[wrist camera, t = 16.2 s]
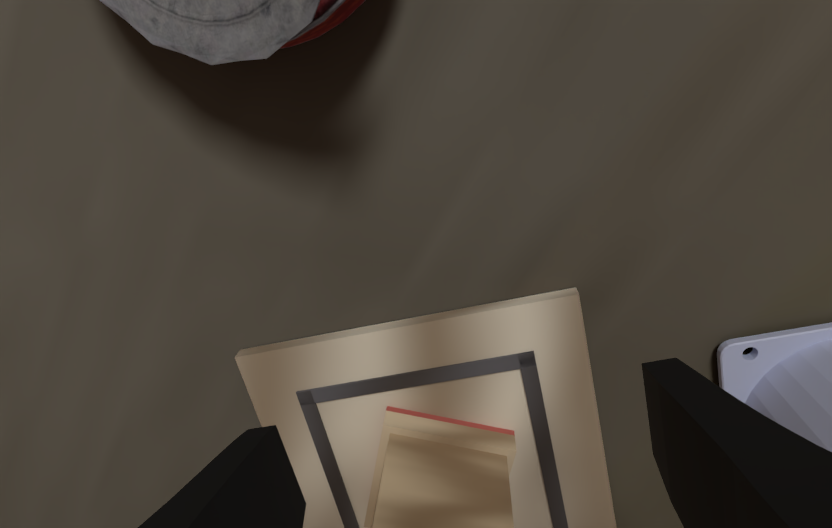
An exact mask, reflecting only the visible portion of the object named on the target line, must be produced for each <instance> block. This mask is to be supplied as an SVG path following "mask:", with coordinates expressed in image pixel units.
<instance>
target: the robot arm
mask: <svg viewBox="0 0 832 528" xmlns="http://www.w3.org/2000/svg"><path fill="white" fill-rule="evenodd" d="M749 347H753V350H752V351H751V352H750V353H749V354H746V355H742V354H743V351H744V350H745V349H747V348H749ZM717 363H718V376H719V386H717V385H716V384H714V383H713V382H711V381H710V380H708V379H707V378H705V377H704V376H702V375H701V374H700V373H698V372H697V371H695V370H694V369H692V368H691V367H689V366H688V365H686V364H685V363H683V362H682V361H680V360H679V359H677V358H671V359H665V360H659V361H654V362H648V363H642V370H643V378H644V386H645V394H646V402H647V410H648V418H649V426H650V434H651V441H652V449H653V455H654V457H655V460H656V463H657V465H658V468H659V471H660V474H661V476H662V479H663V482H664V484H665V487H666V490H667V492H668V495H669V497H670V500H671V502H672V505H673V507H674V509H675V511H676V512H677V514H678V516H679V518H680V520H681V522H682V524H683V526H684V528H832V322H831V323H825V324H819V325H813V326H807V327H801V328H795V329H789V330H783V331H777V332H771V333H765V334H759V335H753V336H747V337H741V338H735V339H730V340H727V341H724V342H723V343H722V344H720V346H719V347H718V349H717ZM305 509H306V502H305V499H304V497H303V494H302V491H301V489H300V486H299V484H298V481H297V478H296V476H295V473H294V471H293V468H292V465H291V463H290V460H289V458H288V455H287V452H286V450H285V447H284V445H283V442H282V440H281V437H280V434H279V432H278V429H277V427H276V425H272V426H266V427H260V428H254V429H248V430H247V431H246V432H244V433H243V434H242V435H240V436H239V437H238V438H237V439H236V440H234V441H233V442H232V443H231V444H230V445H229V446H228V447H226V448H225V449H224V450H223V451H222V452H221V453H220V454H219V455H218V456H217V457H216V458H214V459H213V460H212V461H211V462H210V463H209V464H208V465H207V466H206V467H205V468H204V469H203V470H202V471H201V472H199V473H198V474H197V475H196V476H195V477H194V478H193V479H192V480H191V481H190V482H189V483H188V484H187V485H185V486H184V487H183V488H182V489H181V490H180V491H179V492H178V493H177V494H176V495H175V496H174V497H172V498H171V499H170V500H169V501H168V502H167V503H166V504H165V505H163V506H162V507H161V508H160V509H159V510H158V511H157V512H155V513H154V514H153V515H152V516H151V517H150V518H148V519H147V520H146V521H145V522H144V523H143V524H142V525H140V526H139V527H138V528H303V523H304V516H305Z"/></svg>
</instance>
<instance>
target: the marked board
mask: <svg viewBox="0 0 832 528" xmlns="http://www.w3.org/2000/svg"><path fill="white" fill-rule="evenodd" d="M235 360H236V362H237V365H238V367H239V370H240V372H241V375H242V377H243V380H244V382H245V385H246V388H247V390H248V393H249V395H250V398H251V400H252V403H253V405H254V408H255V411H256V413H257V416H258V418H259V421H260V423H261V426H262V427H266V426H272V425H276V427H277V429H278V432H279V434H280V437H281V440H282V442H283V445H284V447H285V450H286V452H287V455H288V458H289V460H290V463H291V465H292V468H293V471H294V473H295V476H296V478H297V481H298V484H299V486H300V489H301V491H302V494H303V497H304V499H305V502H306V509H305V516H304V523H303V528H367V527H364V522H365V517H366V512H367V507H368V501H369V496H370V491H371V486H372V480H373V475H374V470H375V465H376V459H377V454H378V449H379V444H380V438H381V433H382V428H383V423H384V418H385V413H386V408H387V406H390V407H395V408H400V409H406V410H411V411H416V412H421V413H426V414H431V415H436V416H441V417H446V418H452V419H457V420H462V421H467V422H472V423H477V424H482V425H487V426H492V427H498V428H503V429H508V430H513V431H514V434H515V442H516V450H517V452H516V455H515V458H514V462H513V465H512V468H511V472H510V475H509V483H510V493H511V503H512V513H513V523H514V528H616V522H615V515H614V509H613V503H612V497H611V491H610V484H609V478H608V472H607V466H606V460H605V453H604V447H603V441H602V435H601V428H600V422H599V416H598V410H597V404H596V397H595V391H594V385H593V379H592V372H591V366H590V360H589V354H588V348H587V341H586V335H585V329H584V323H583V317H582V310H581V304H580V298H579V293H578V291H577V289H576V287H575V288H570V289H564V290H559V291H554V292H548V293H543V294H537V295H532V296H527V297H521V298H516V299H511V300H505V301H500V302H494V303H489V304H484V305H478V306H473V307H468V308H462V309H457V310H451V311H446V312H441V313H435V314H430V315H424V316H419V317H414V318H408V319H403V320H398V321H392V322H387V323H381V324H376V325H371V326H365V327H360V328H355V329H349V330H344V331H338V332H333V333H328V334H322V335H317V336H311V337H306V338H301V339H295V340H290V341H285V342H279V343H274V344H268V345H263V346H258V347H252V348H247V349H242V350H240V351H239V352H238V354H237V355H236V356H235Z"/></svg>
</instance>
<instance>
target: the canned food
mask: <svg viewBox="0 0 832 528" xmlns="http://www.w3.org/2000/svg"><path fill="white" fill-rule="evenodd" d="M100 1H101V2H102V3H103V4H105V5H106V6H107V7H109V8H110V9H111V10H113V11H114V12H115V13H117V14H118V15H119V16H120V17H122V18H123V19H124V20H126V21H127V22H128V23H129V24H130V25H131V26H132V27H134V28H135V29H136V30H137V31H138V32H139V33H140V34H141V35H143V36H144V37H145V38H146V39H147V40H148V41H149V42H150V43H152V44H153V45H156V46H159V47H163V48H166V49H169V50H172V51H176V52H179V53H182V54H185V55H187V56H190V57H192V58H195V59H197V60H200V61H202V62H205V63H207V64H210V65H216V64H222V63H229V62H236V61H244V60H257V59H267V58H269V57H270V56H271V55H272V54H274V53H275V52H276V51H277V50H278V49H281V48H289V47H293V46H295V45H298V44H301V43H304V42H307V41H310V40H313V39H315V38H318V37H320V36H321V35H323V34H325V33H326V32H328V31H329V30H331V29H333V28H334V27H336V26H338V25H339V24H341V23H342V22H344V21H345V20H346V19H347V18H348V17H349V16H350V15H351V14H352V13H353V12H354V11H355V10H356V9H357V8H358V7H359V6H360V5H362V4H363V3H364V2H365V1H366V0H100Z"/></svg>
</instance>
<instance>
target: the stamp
mask: <svg viewBox="0 0 832 528" xmlns="http://www.w3.org/2000/svg"><path fill="white" fill-rule="evenodd" d="M516 452H517V450H516V442H515V434H514V431H513V430H508V429H503V428H498V427H492V426H487V425H482V424H477V423H472V422H467V421H462V420H457V419H452V418H446V417H441V416H436V415H431V414H426V413H421V412H416V411H411V410H406V409H400V408H395V407H390V406H387V408H386V413H385V418H384V423H383V428H382V433H381V438H380V444H379V449H378V454H377V459H376V465H375V470H374V475H373V480H372V486H371V491H370V496H369V501H368V507H367V512H366V517H365V522H364V527H367V528H514V523H513V513H512V503H511V493H510V483H509V475H510V472H511V468H512V465H513V462H514V458H515V455H516Z"/></svg>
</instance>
